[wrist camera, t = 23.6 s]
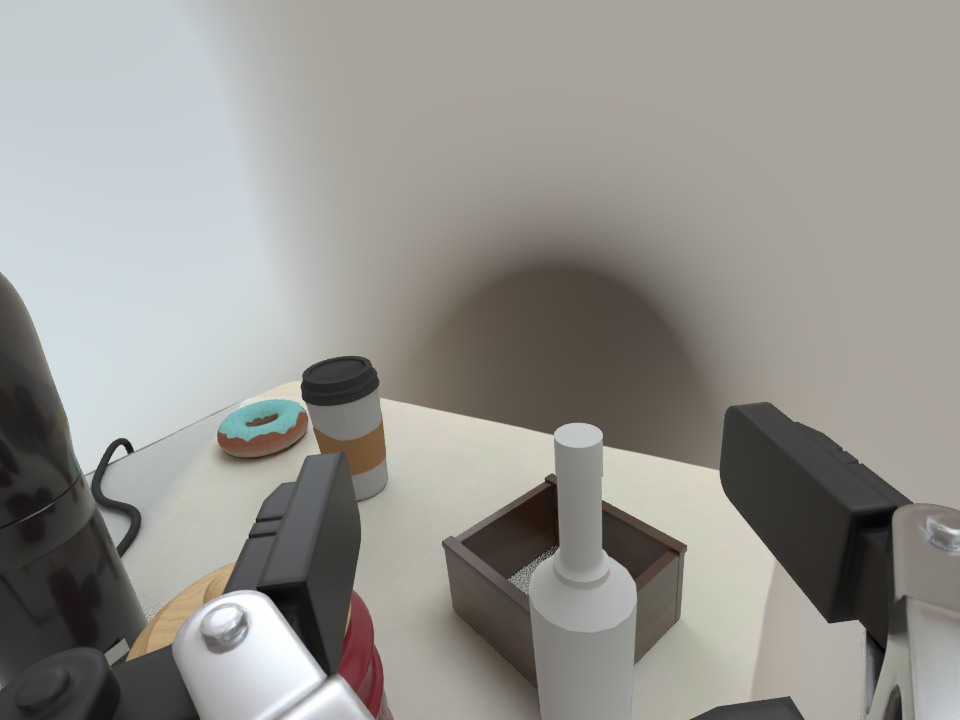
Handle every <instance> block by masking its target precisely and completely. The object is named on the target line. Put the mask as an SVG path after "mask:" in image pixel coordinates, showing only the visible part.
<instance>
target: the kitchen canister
mask: <svg viewBox="0 0 960 720" xmlns="http://www.w3.org/2000/svg"><path fill="white" fill-rule="evenodd" d="M235 564H236V562H235V563H232V564H229V565H227V566H224V567H222V568H220V569H218V570H216V571H214V572H212V573H210V574H208V575H206V576H205V577H203V578H201V579H200V580H198V581H197V582H195V583H194V584H192V585H191V586H190V587H188V588H187V589H186V590H184V591H183V592H182V593H180V594H179V595H178V596H176V597H175V598H174V599H173V600H171V601H170V602H169V603H168V604H167V605H166V606H165V607H164V608H163V609H161V610H160V611H159V612H158V613H157V615H156V616H155V617H154V618H153V619H152V620H151V621H150V622H149V623H148V625H147V626H146V627H145V628H144V630H143V631H142V632H141V634H140V635H139V637H138V638H137V640H136V641H135V643H134V645H133V646H132V648H131V650H130V652H129V654H128V657H127V659H126V662H127V661H129V660H132V659H134V658H137V657H140V656H142V655H145V654H148V653H150V652H153V651H155V650H158V649H161V648H163V647H165V646H168V645H170V644H172V643H173V640H174V638H175V635H176V633H177V631H178V630H179V628H180V627H181V625H182V624H183V623H184V622H185V620H186V619H187V618H188V617H189V616H190V615H191V614H192V613H193V612H194V611H196V610H197V609H198V608H200V607H201V606H202V605H204V604H206V603H207V602H209V601H211V600H213V599H215V598H217V597H219V596H221V595H222V593H223V591H224V589H225V586H226V584H227V582H228V580H229V577H230V575H231V573H232V571H233V569H234V566H235ZM338 673H339V674H340V675H341V676H342V677H343V678H344V679H345V680H346V682H347V683H348V684H349V685H350V687H351V688H352V689H353V691H354V692H355V693H356V695H357V696H358V697H359V699H360V700H361V701H362V702H363V704H364V705H365V706H366V708H367V709H368V710H369V712H370V713H371V714H372V716H373V717H374V718H375V720H394V719H393V716H392V714H391V712H390V710H389V708H388V704H387V699H386V695H385V691H384V677H383V668H382V662H381V659H380V655H379V653H378V650H377V648H376V646H375V644H374V630H373V623H372V619H371V615H370V613H369V610H368V608H367V606H366V605H365V603H364V601H363V600H362V599H361V597H360V596H359V595H358V594H357V593H356V592H355V591H354V590H352V595H351V601H350V607H349V613H348V619H347V625H346V631H345V636H344V642H343V648H342V654H341V660H340V666H339V671H338Z"/></svg>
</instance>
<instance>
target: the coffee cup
mask: <svg viewBox="0 0 960 720" xmlns="http://www.w3.org/2000/svg"><path fill="white" fill-rule="evenodd" d="M302 376H303V381H302V383H301V390H302V399H303V400H304V401H305V402H306V405H307V408H308V411H309V414H310V417H311V420H312V424H313V427H314V428H313V430H314V433H315V436H316V439H317V442H318V445H319V448H320V452H321V454H327V453H335V452H345V454H346V456H347V459H348V463H349V468H350V472H351V477H352V482H353V486H354V491H355V496H356V500H357V501H358V500H364V499H367V498H370V497H372V496H374V495H376V494H377V493H379V492H380V491H381V490H382V489H383V488H384V486H385V484H386V481H387V479H388V473H387V464H386V448H385V439H384V429H383V420H382V413H381V408H380V399H379V390H378V386H379V379H378V377H377V372H376V370H375V369H374V368H373V367H372V364H371V362H370V361H369V360H368V359H366V358H363V357H358V356H343V357H336V358H332V359H327V360H324V361H321V362H318V363H316V364H314V365H312V366H311V367H309V368H307V369H306V370H305V371H304V373H303V375H302Z"/></svg>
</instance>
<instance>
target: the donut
mask: <svg viewBox="0 0 960 720" xmlns="http://www.w3.org/2000/svg"><path fill="white" fill-rule="evenodd" d="M307 425H308V416H307V413H306V411H305V409H304V408H303V407H301V406H300V404H299V403H297V402H294V401H291V400H266V401H261V402H257V403H254V404H251V405H248V406H245V407H243V408H241V409H239V410H237V411H235V412H233V413H232V414H230V415H229V416H228V417H227V418H226V419H225V420H223V421H222V423H221V424H220V428H219V430H218V434H217V437H218V443H219V445H220V446H221V447H222V448H223V450H224V451H225V452H227V453H228V454H231V455H233V456H237V457H260V456H266V455H269V454H273V453H276V452H278V451H281V450H283V449H285V448H287V447H289V446H290V445H292V444H293V443H295V442H296V441H297V440H299V439H300V438H301V437H302V436H303V434H304V433H305V431H306V429H307Z"/></svg>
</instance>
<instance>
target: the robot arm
mask: <svg viewBox="0 0 960 720" xmlns="http://www.w3.org/2000/svg"><path fill="white" fill-rule="evenodd" d="M121 444H122V445H123V446H124V447H125V449H126V451H127V454H130V453H132V452H134V449H133V447H132V445H131V443H130V442H129V441H128V440H127V439H125V438H119V439H117V440H115V441H113V442H112V443H111V444H110V446H109V447H108V448H107V450H106V452H105V454H104V455H103V457H102V459H101V461H100V464H99V465H98V467H97V470H96V472H95V474H94V477H93V480H92V485H91V490H92V493H91V491H90V488H89V486H88V484H87V481H86V479H85V477H84V475H83V472H82V470H81V468H80V466H79V463H78V461H77V458H76V456H75V453H74V450H73V445H72V439H71V433H70V428H69V423H68V419H67V416H66V413H65V411H64V408H63V405H62V402H61V400H60V397H59V394H58V392H57V389H56V386H55V384H54V381H53V378H52V376H51V373H50V370H49V367H48V364H47V361H46V358H45V355H44V352H43V349H42V346H41V343H40V340H39V337H38V335H37V332H36V329H35V327H34V324H33V321H32V319H31V317H30V314H29V312H28V310H27V308H26V306H25V304H24V302H23V300H22V299H21V297H20V295H19V294H18V292H17V291H16V289H15V288H14V286H13V285H12V284H11V283H10V282H9V281H8V279H7V278H6V277H5V276H4V275H3V274H2V273H1V272H0V684H1V686H2V688H3V689H2V690H1V691H0V720H375V718H374V717H373V716H372V714H371V713H370V712H369V710H368V709H367V708H366V706H365V705H364V704H363V702H362V701H361V700H360V699H359V697H358V696H357V695H356V693H355V692H354V691H353V689H352V688H351V687H350V685H349V684H348V683H347V682H346V680H345V679H344V678H343V677H342V676H341V675H340V674H339V673H338V671H339V666H340V660H341V654H342V648H343V642H344V636H345V631H346V625H347V619H348V613H349V607H350V601H351V595H352V590H353V584H354V578H355V572H356V566H357V560H358V554H359V549H360V542H361V524H360V515H359V510H358V505H357V500H356V496H355V491H354V486H353V482H352V477H351V472H350V468H349V463H348V459H347V456H346V454H345V452H335V453H327V454H318V455H310V456H307V457H306V458H305V460H304V463H303V465H302V468H301V471H300V473H299V476H298V478H297V481H296V482H289V483H282V484H281V485H280V486H279V487H278V488H277V489H276V490H275V491H274V492H272V493H271V494H270V495H269V496H268V497H267V498H266V499H265V500H264V502H263V504H262V506H261V509H260V511H259V513H258V515H257V518H256V523H254V524H253V526H252V529H251V531H250V533H249V539H247V540H246V542H245V544H244V546H243V549H242V551H241V553H240V555H239V558H238V560H237V562H236V564H235V566H234V569H233V571H232V573H231V575H230V577H229V580H228V582H227V584H226V586H225V589H224V591H223V593H222V595H221V596H219V597H217V598H215V599H213V600H211V601H209V602H207V603H206V604H204V605H202V606H201V607H200V608H198V609H197V610H196V611H194V612H193V613H192V614H191V615H190V616H189V617H188V618H187V619H186V620H185V622H184V623H183V624H182V625H181V627H180V628H179V630H178V631H177V633H176V635H175V638H174V640H173V643H172V644H170V645H168V646H165V647H163V648H161V649H158V650H155V651H153V652H150V653H148V654H145V655H142V656H140V657H137V658H134V659H132V660H129V661H127V662H126V659H127V657H128V654H129V652H130V650H131V648H132V646H133V645H134V643H135V641H136V640H137V638H138V637H139V635H140V634H141V632H142V631H143V630H144V628H145V627H146V626H147V625H148V621H147V619H146V617H145V614H144V612H143V610H142V608H141V605H140V602H139V600H138V598H137V595H136V593H135V591H134V589H133V586H132V584H131V582H130V579H129V577H128V575H127V573H126V570H125V568H124V566H123V563H122V561H121V559H120V557H121V556H122V555H123V553H124V552H125V551H126V550H127V548H128V547H129V546H130V544H131V543H132V541H133V540H134V538H135V536H136V535H137V533H138V530H139V527H140V524H141V515H140V512H139V511H138V510H137V508H135V507H134V506H132V505H129V504H126V503H122V502H118V501H114V500H110V499H108V498H106V497H105V496H104V495H103V494H102V492H101V489H100V481H101V478H102V475H103V473H104V471H105V468H106V466H107V464H108V462H109V460H110V458H111V456H112V454H113V452H114V451H115V449H116V448H117V447H118V446H119V445H121ZM720 479H721V484H722V487H723V490H724V492H725V494H726V496H727V498H728V499H729V500H730V502H731V503H732V504H733V505H734V507H735V508H736V509H737V510H738V511H739V513H740V514H741V515H742V516H743V518H744V519H745V520H746V521H747V523H748V524H749V525H750V526H751V528H752V529H753V530H754V531H755V533H756V534H757V535H758V536H759V538H760V539H761V540H762V541H763V543H764V544H765V545H766V546H767V547H768V549H769V550H770V551H771V552H772V554H773V555H774V556H775V557H776V559H777V560H778V561H779V562H780V564H781V565H782V566H783V567H784V569H785V570H786V571H787V572H788V573H789V575H790V576H791V577H792V578H793V580H794V581H795V582H796V583H797V585H798V586H799V587H800V588H801V590H802V591H803V592H804V593H805V595H806V596H807V597H808V598H809V600H810V601H811V602H812V603H813V605H814V606H815V607H816V608H817V610H818V611H819V612H820V613H821V614H822V616H823V617H824V618H825V619H826V621H827V622H828V623H837V622H844V621H851V620H859V621H860V622H861V623H862V625H863V626H864V627H865V629H864V632H863V637H862V642H861V678H860V720H960V511H959V510H956V509H953V508H949V507H945V506H940V505H935V504H919V503H917V504H914V503H913V502H911V501H910V500H909V499H908V498H906V497H905V496H904V495H902V494H901V493H900V492H899V491H897V490H896V489H895V488H893V487H892V486H891V485H889V484H888V483H887V482H886V481H884V480H883V479H882V478H880V477H879V476H878V475H877V474H875V473H874V472H873V471H871V470H870V469H868V467H866V466H865V465H864V464H859V463H858V460H857V459H856V458H854V457H853V456H852V455H850V454H849V453H848V452H847V451H843V450H842V448H841V447H840V446H839V445H838V444H836V443H835V442H834V441H833V440H831V439H830V438H829V437H827V436H826V435H825V434H823V433H821V432H819V431H817V430H815V429H812V428H810V427H808V426H806V425H803V424H801V423H799V422H793V421H792V420H791V419H790V418H788V417H787V416H786V415H785V414H783V413H782V412H781V411H780V410H778V409H777V408H776V407H774V406H773V405H772V404H771V403H768V402H761V403H753V404H745V405H736V406H730V407H729V408H728V409H727V411H726V413H725V419H724V428H723V441H722V449H721V460H720ZM92 494H93V495H92ZM93 496H94V498H95V500H96V501H97V502H98V503H99V504H101V505H103V506H105V507H108V508H112V509H117V510H121V511H124V512H126V513H128V514H129V515H130V516H131V518H132V523H131V526H130V529H129V531H128V532H127V534H126V536H125V537H124V539H123V540H122V541H121V543H120V544H119V545H118V546H117V548H116V547H115V545H114V543H113V540H112V538H111V536H110V534H109V531H108V529H107V527H106V524H105V522H104V520H103V518H102V515H101V513H100V511H99V508H98V506H97V504H96V502H95V500H94V498H93ZM690 720H804V718H803V717H802V715H801V714H800V712H799V710H798V709H797V707H796V706H795V704H794V702H793V701H792V699H791V698H790V696H789V697H782V698H775V699H769V700H761V701H754V702H747V703H740V704H733V705H726V706H719V707H716V708H714V709H712V710H709V711H707V712H705V713H703V714H701V715H699V716H697V717H694V718H692V719H690Z"/></svg>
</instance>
